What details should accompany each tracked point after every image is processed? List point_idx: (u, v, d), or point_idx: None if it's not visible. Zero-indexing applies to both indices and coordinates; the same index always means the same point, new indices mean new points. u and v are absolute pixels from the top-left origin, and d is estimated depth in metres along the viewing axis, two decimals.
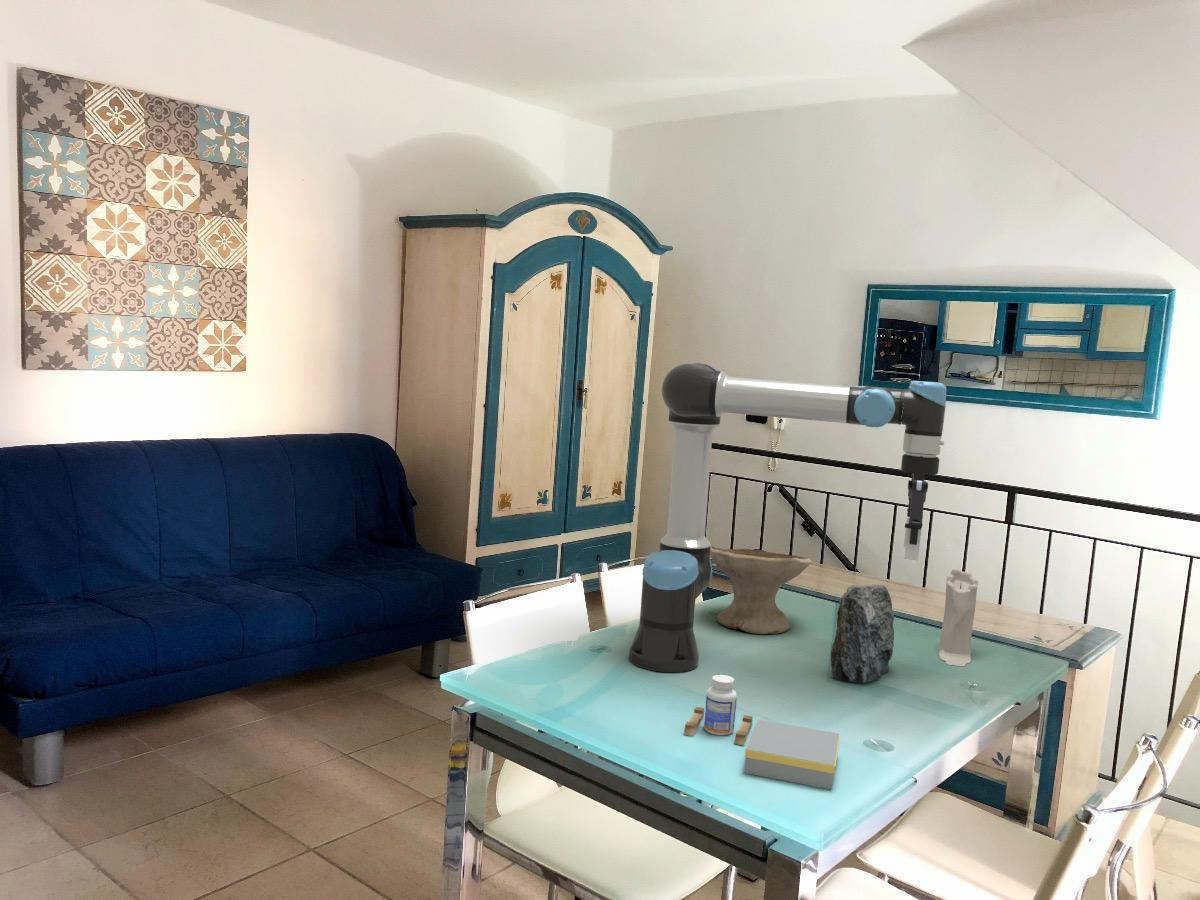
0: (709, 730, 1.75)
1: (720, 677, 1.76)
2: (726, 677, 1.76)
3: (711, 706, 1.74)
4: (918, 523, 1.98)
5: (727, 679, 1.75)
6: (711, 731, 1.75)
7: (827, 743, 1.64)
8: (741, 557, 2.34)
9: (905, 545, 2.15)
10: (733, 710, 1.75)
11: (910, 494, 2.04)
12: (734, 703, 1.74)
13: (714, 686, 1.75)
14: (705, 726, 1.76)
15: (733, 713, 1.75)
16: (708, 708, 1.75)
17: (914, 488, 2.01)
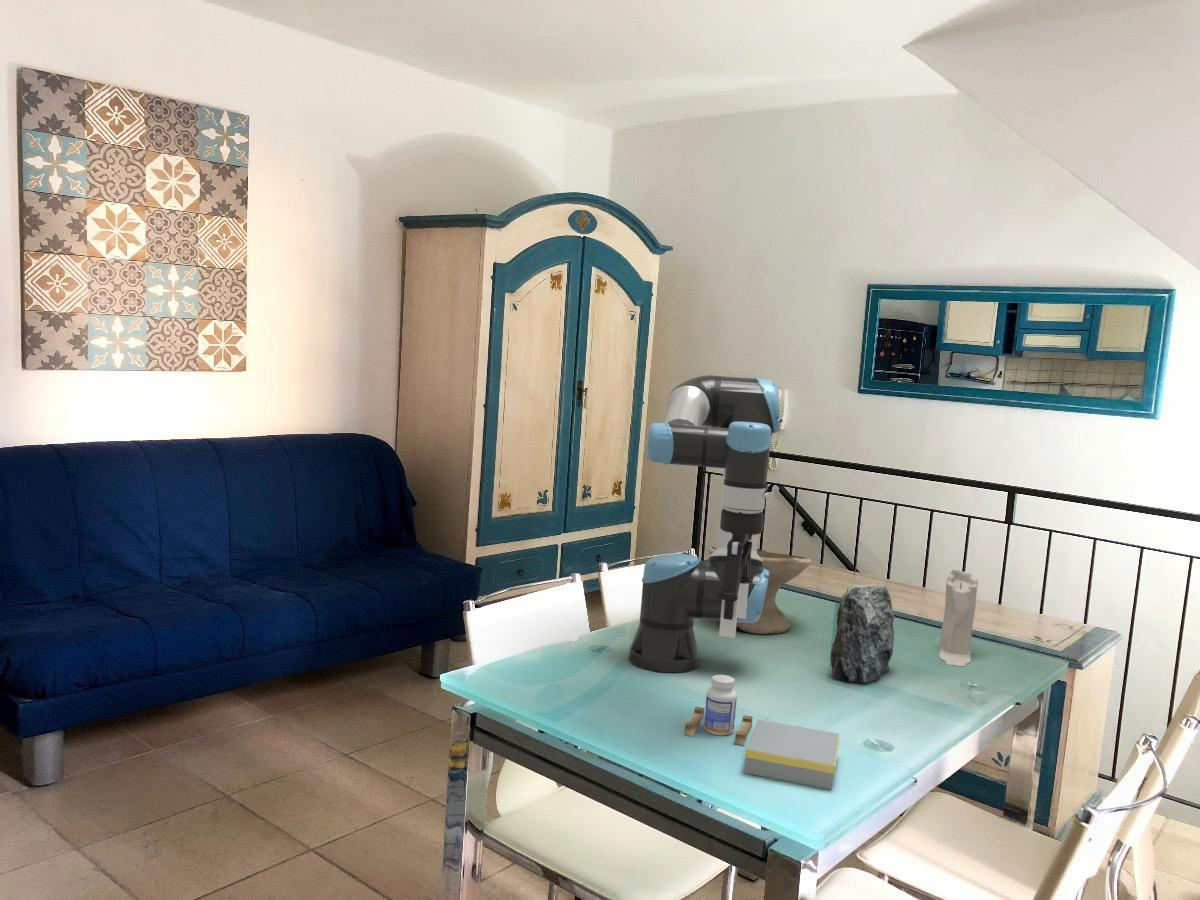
0: (709, 730, 1.75)
1: (720, 677, 1.76)
2: (726, 678, 1.76)
3: (711, 706, 1.74)
4: (731, 594, 1.65)
5: (727, 679, 1.75)
6: (711, 731, 1.75)
7: (827, 743, 1.64)
8: None
9: None
10: (733, 710, 1.75)
11: None
12: (734, 703, 1.74)
13: (714, 686, 1.75)
14: (705, 726, 1.76)
15: (733, 713, 1.75)
16: (708, 708, 1.75)
17: (729, 551, 1.67)
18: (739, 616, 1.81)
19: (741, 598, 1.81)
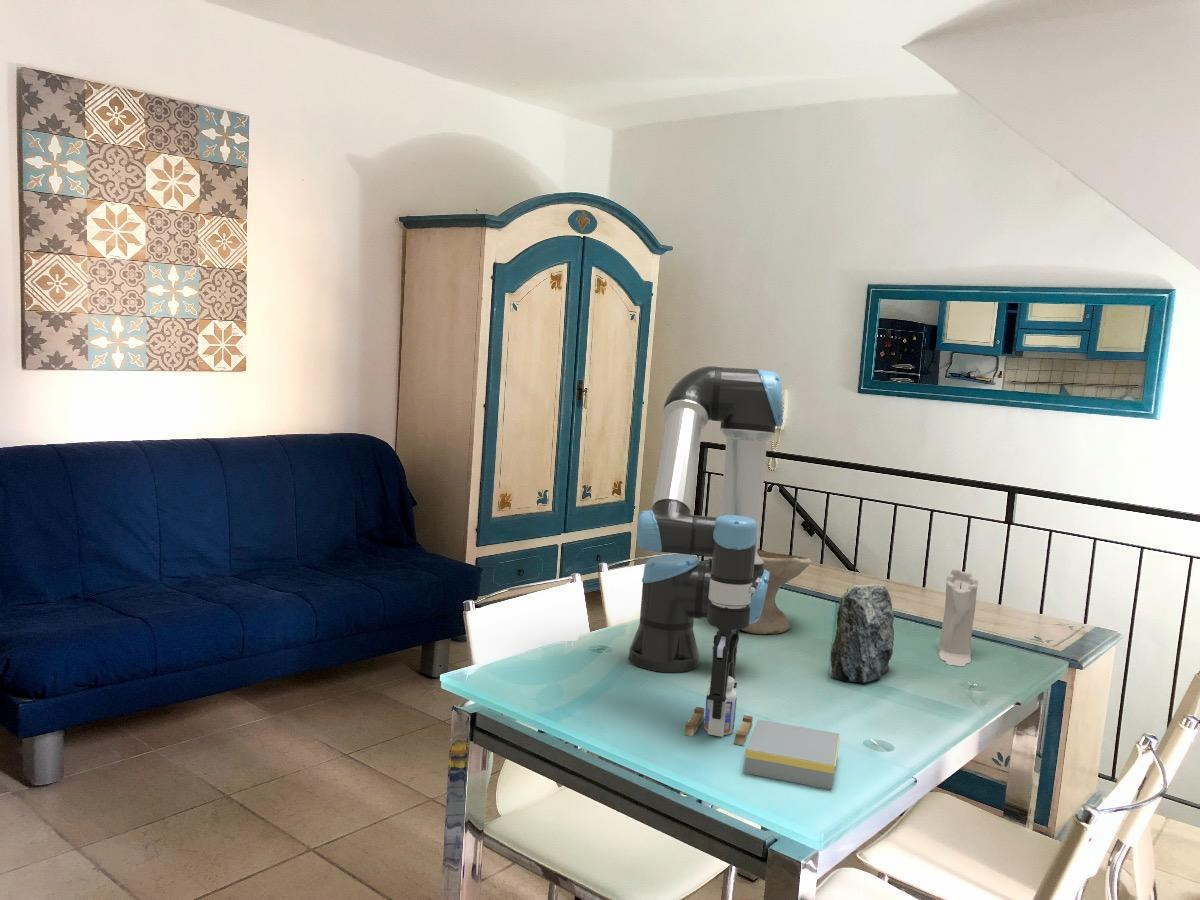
0: None
1: None
2: None
3: None
4: (719, 698, 1.70)
5: None
6: None
7: (827, 743, 1.64)
8: None
9: None
10: (733, 710, 1.75)
11: None
12: (734, 703, 1.74)
13: None
14: (705, 726, 1.76)
15: (733, 713, 1.75)
16: (708, 707, 1.75)
17: (714, 656, 1.69)
18: None
19: None
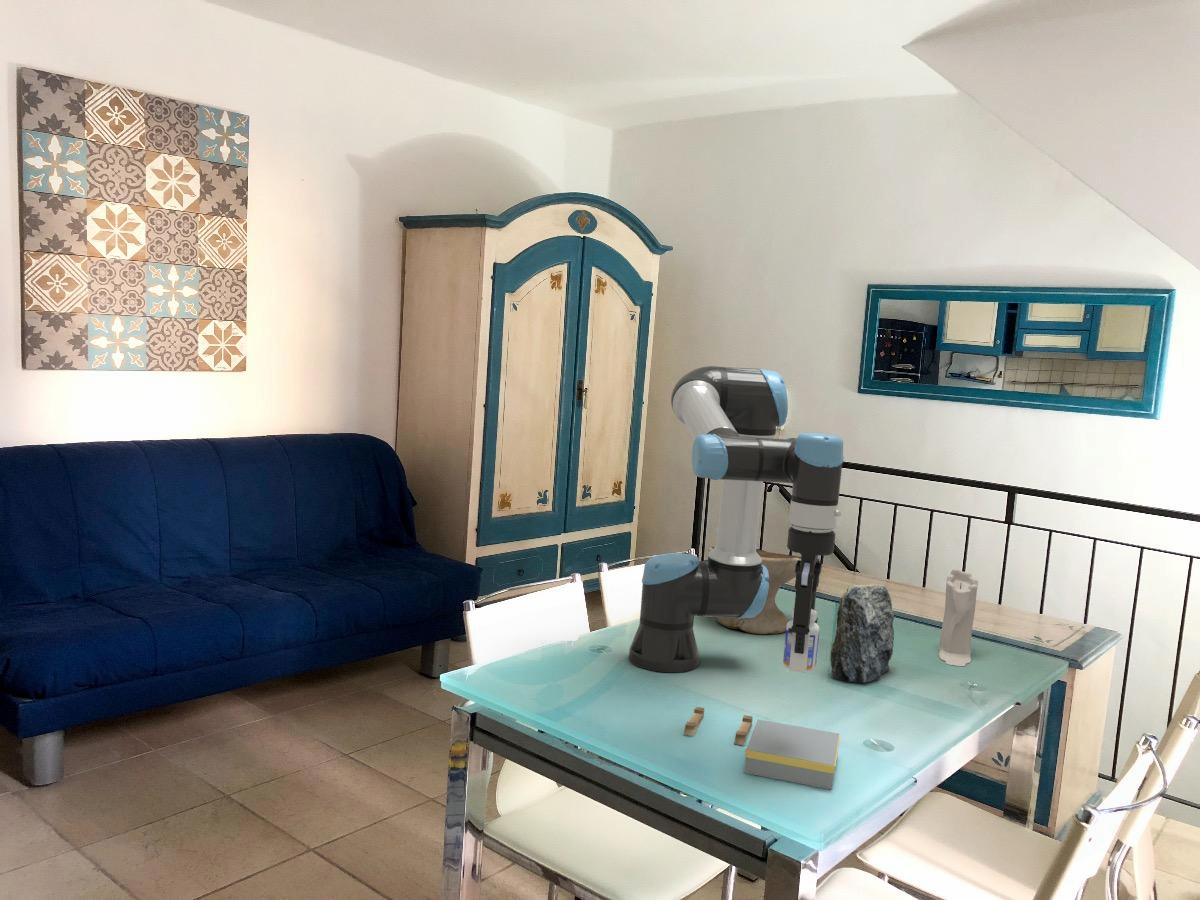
0: None
1: None
2: None
3: None
4: (803, 629, 1.55)
5: None
6: None
7: (827, 743, 1.64)
8: None
9: None
10: (816, 644, 1.60)
11: (797, 583, 1.59)
12: (817, 636, 1.60)
13: None
14: (785, 662, 1.62)
15: (816, 648, 1.60)
16: (788, 642, 1.61)
17: (798, 583, 1.55)
18: None
19: None
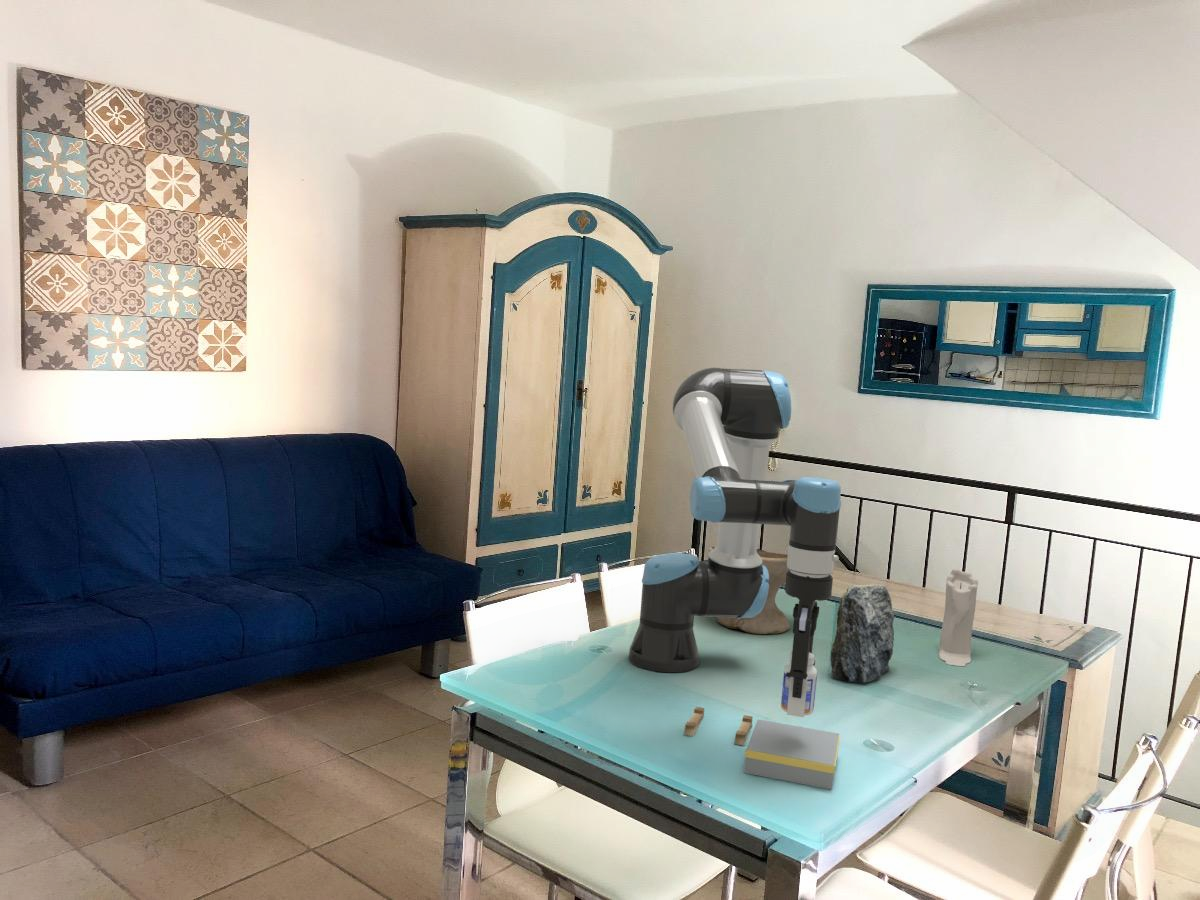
0: None
1: None
2: None
3: None
4: (801, 674, 1.56)
5: None
6: None
7: (827, 743, 1.64)
8: None
9: None
10: (814, 688, 1.61)
11: None
12: (814, 680, 1.61)
13: None
14: (783, 706, 1.62)
15: (813, 691, 1.61)
16: (786, 686, 1.61)
17: (796, 628, 1.56)
18: None
19: None
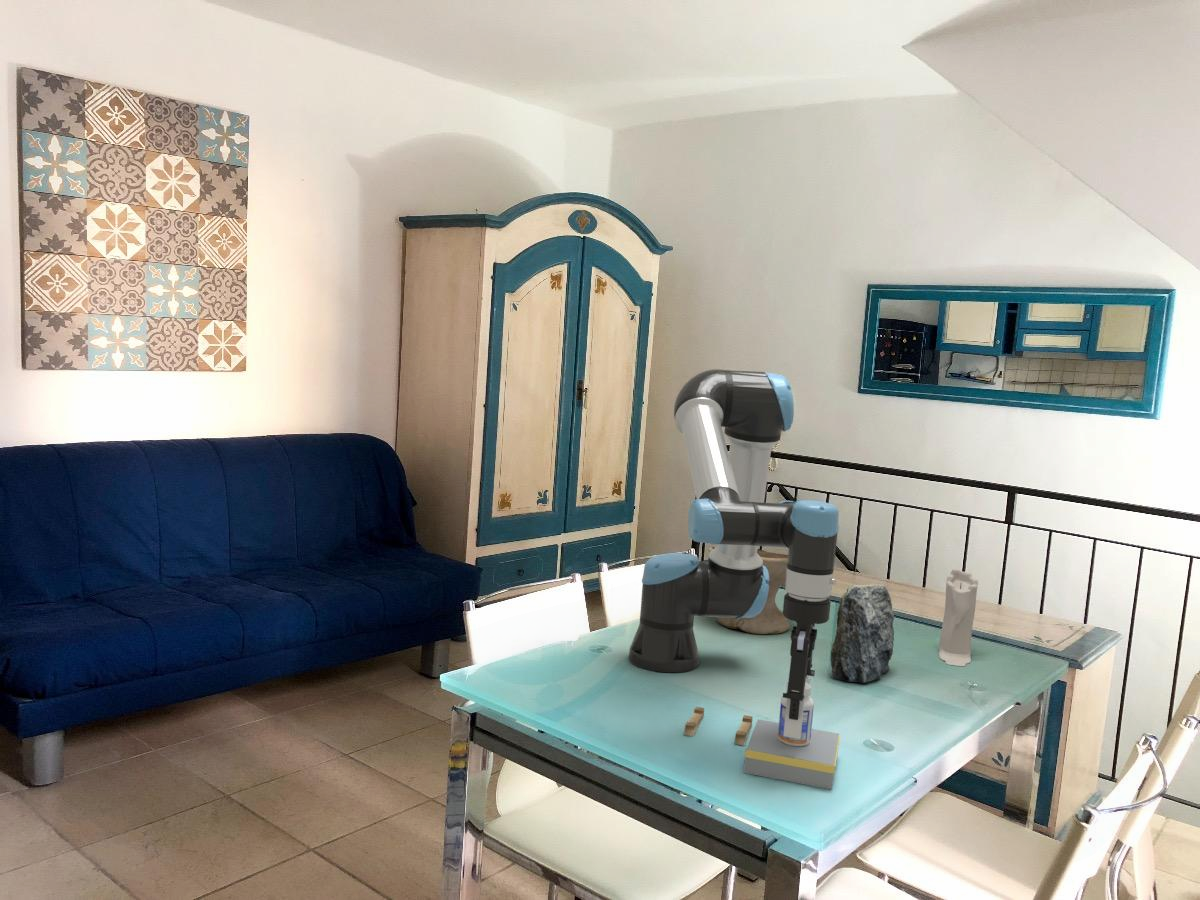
0: (784, 741, 1.62)
1: None
2: None
3: None
4: (798, 695, 1.54)
5: None
6: (786, 742, 1.62)
7: (827, 743, 1.64)
8: None
9: None
10: (810, 719, 1.62)
11: None
12: (811, 711, 1.62)
13: None
14: (779, 736, 1.63)
15: (810, 722, 1.62)
16: (782, 716, 1.62)
17: (794, 647, 1.56)
18: None
19: None
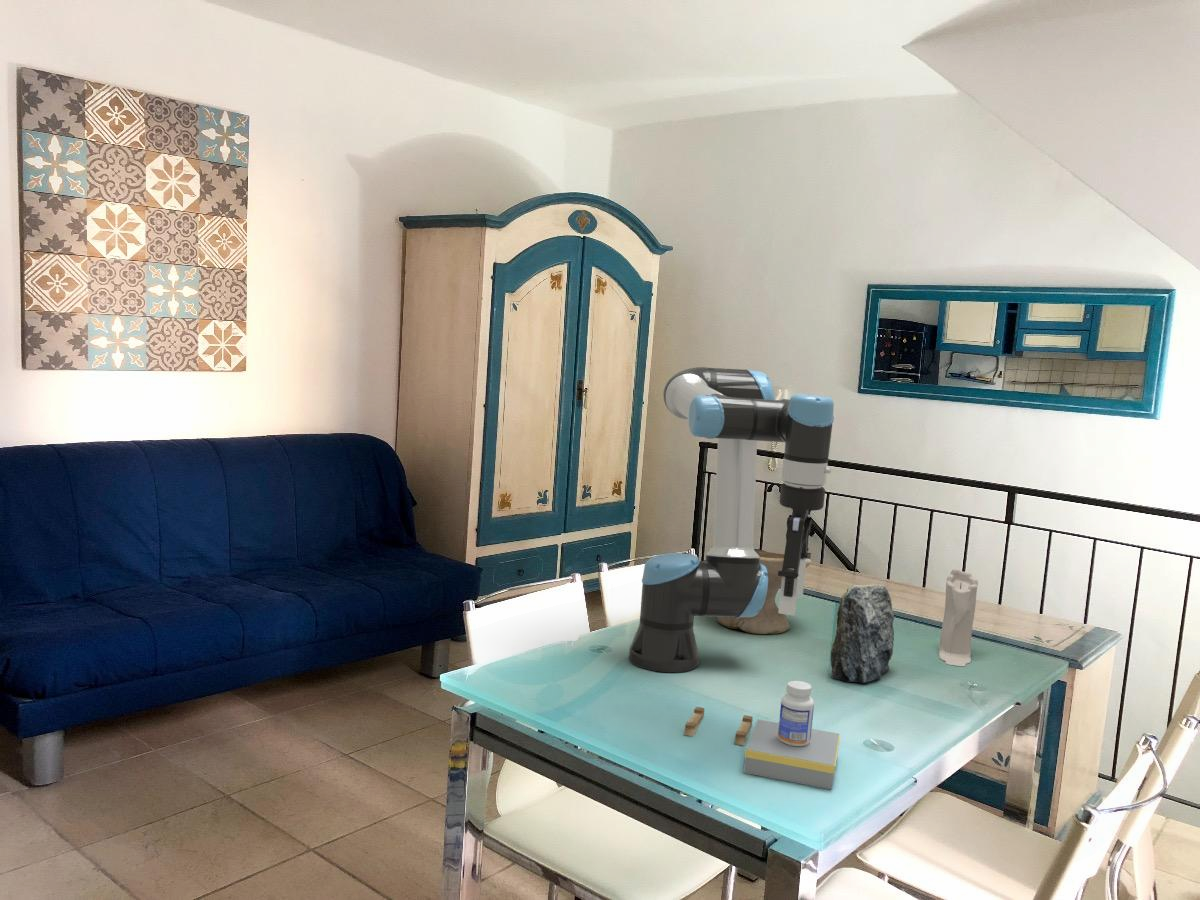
0: (784, 740, 1.62)
1: (796, 683, 1.63)
2: (803, 684, 1.63)
3: (787, 715, 1.61)
4: (792, 572, 1.61)
5: (804, 685, 1.63)
6: (786, 742, 1.62)
7: (827, 743, 1.64)
8: None
9: None
10: (810, 719, 1.62)
11: None
12: (811, 711, 1.62)
13: (790, 693, 1.62)
14: (779, 736, 1.63)
15: (810, 722, 1.62)
16: (783, 716, 1.62)
17: (790, 528, 1.63)
18: (796, 592, 1.78)
19: (798, 574, 1.77)
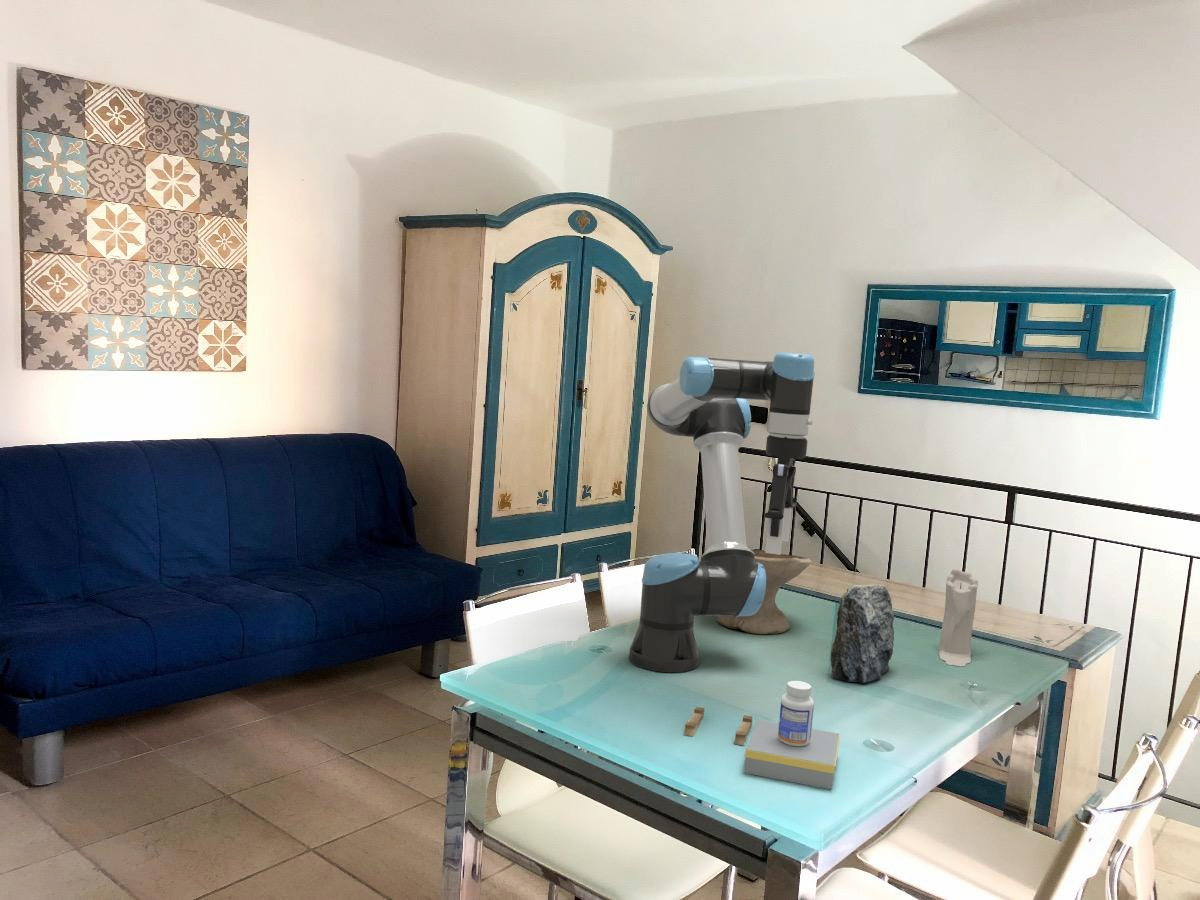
0: (784, 740, 1.62)
1: (796, 683, 1.63)
2: (803, 684, 1.63)
3: (787, 715, 1.61)
4: (778, 512, 1.75)
5: (803, 685, 1.63)
6: (786, 742, 1.62)
7: (827, 743, 1.64)
8: None
9: None
10: (810, 719, 1.62)
11: None
12: (811, 711, 1.62)
13: (790, 693, 1.62)
14: (779, 736, 1.63)
15: (810, 722, 1.62)
16: (783, 716, 1.62)
17: (775, 473, 1.78)
18: (782, 539, 1.92)
19: (784, 522, 1.91)
